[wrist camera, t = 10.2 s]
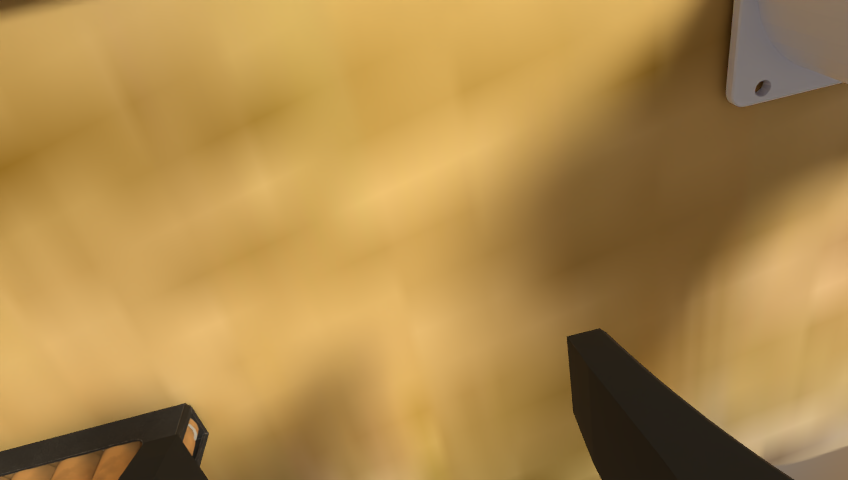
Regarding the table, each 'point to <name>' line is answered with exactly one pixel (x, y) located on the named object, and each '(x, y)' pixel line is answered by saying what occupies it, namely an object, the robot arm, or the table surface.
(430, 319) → the table surface
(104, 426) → the ammunition clip
